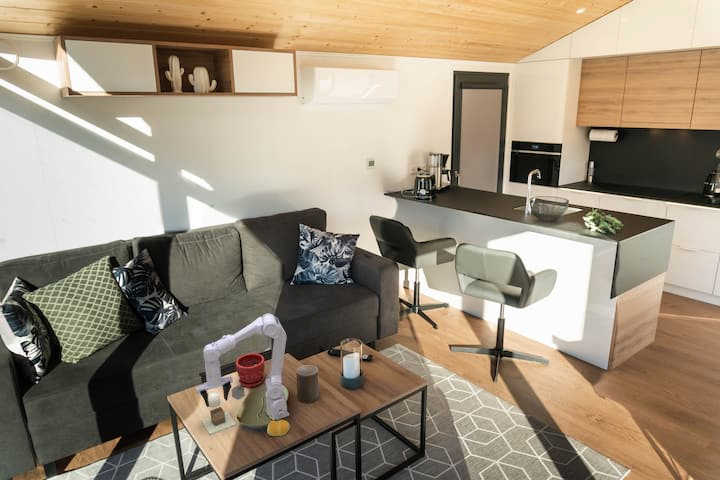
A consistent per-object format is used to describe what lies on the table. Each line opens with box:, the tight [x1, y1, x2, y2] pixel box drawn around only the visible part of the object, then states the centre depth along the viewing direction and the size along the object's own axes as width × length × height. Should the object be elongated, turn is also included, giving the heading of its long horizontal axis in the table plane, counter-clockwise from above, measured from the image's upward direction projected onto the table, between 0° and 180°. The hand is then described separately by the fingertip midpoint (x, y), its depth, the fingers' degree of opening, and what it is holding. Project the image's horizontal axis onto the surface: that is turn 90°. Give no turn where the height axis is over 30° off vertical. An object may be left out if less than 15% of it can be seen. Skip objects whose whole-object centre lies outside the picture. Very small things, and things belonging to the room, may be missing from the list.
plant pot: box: [235, 353, 266, 388], centre depth 234 cm, size 13×13×12 cm
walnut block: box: [209, 406, 226, 426], centre depth 204 cm, size 4×4×5 cm
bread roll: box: [267, 419, 290, 437], centre depth 199 cm, size 8×9×4 cm
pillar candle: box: [295, 364, 320, 404], centre depth 220 cm, size 10×10×15 cm
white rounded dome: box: [207, 390, 221, 408], centre depth 218 cm, size 5×5×5 cm
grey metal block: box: [230, 385, 246, 400], centre depth 223 cm, size 4×4×4 cm
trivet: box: [201, 410, 237, 436], centre depth 205 cm, size 11×11×1 cm
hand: (216, 402), depth 202 cm, fingers open, 7 cm apart
